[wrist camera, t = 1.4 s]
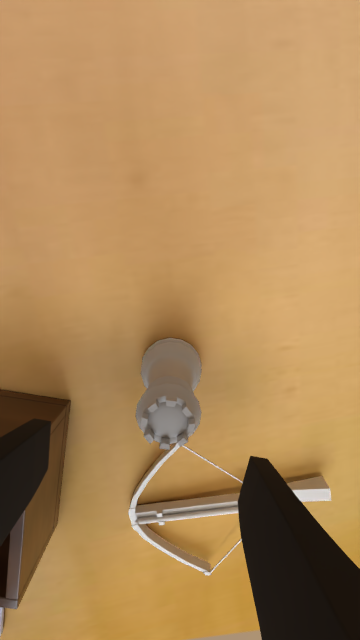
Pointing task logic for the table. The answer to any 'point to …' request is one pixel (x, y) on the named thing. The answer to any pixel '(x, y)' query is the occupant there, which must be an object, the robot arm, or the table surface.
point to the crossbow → (201, 509)
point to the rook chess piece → (169, 392)
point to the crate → (42, 512)
